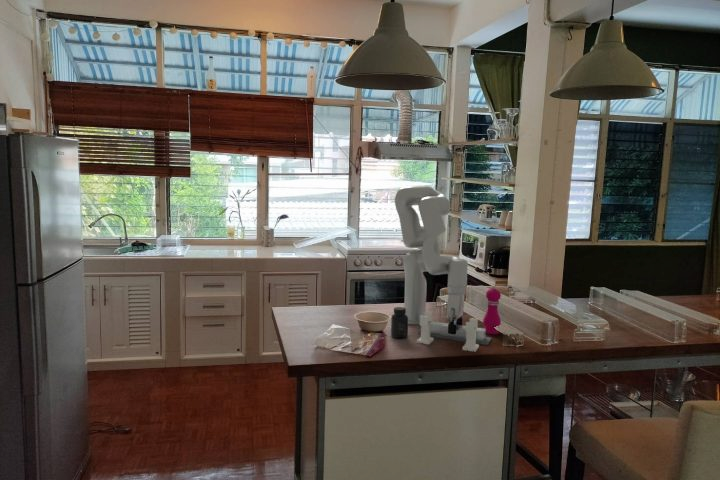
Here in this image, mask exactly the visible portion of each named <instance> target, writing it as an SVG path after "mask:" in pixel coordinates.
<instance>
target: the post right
mask: <svg viewBox="0 0 720 480" xmlns="http://www.w3.org/2000/svg"><path fill="white" fill-rule="evenodd" d="M478 320H479V319H478V318H475V317H474V318H473V317H470V318H469V321H465V326H466V332H467V334H466V342H464V345H463V346H461V347H462V349H461V350H462V351H467V350H468V352H473V351H474V352H475V353H476V352H477V351H478V349H479V348H480V344H477V343H476V330H477V328H479V327H478V325H479V324H478V323H479V321H478Z"/></svg>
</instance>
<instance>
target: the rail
mask: <svg viewBox="0 0 720 480" xmlns="http://www.w3.org/2000/svg"><path fill="white" fill-rule="evenodd" d="M430 333H431V334H438V335H444V336H451V337H458V338H464V339H466V334H467V332H466V325H463V324H462V325H457V326H456V334H449V333H448V322H447V323H446V322H440V321H434V320H432V323H431V332H430ZM486 335H487V333H486V329H484V327H477V330H476V340H478V341H484V340H485V338H486V337H487V336H486Z"/></svg>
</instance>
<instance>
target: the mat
mask: <svg viewBox="0 0 720 480" xmlns="http://www.w3.org/2000/svg"><path fill="white" fill-rule="evenodd" d="M418 336H421V331H420V332H419V333H418ZM430 337H432V338H437V339H439V338H440V339H445V340H452V341H457V342H464V343H466V339H464V338H458V337H451V336H444V335H438V334H431V333H430ZM492 339H493V338H492V337H489V336H486V338H485V340H484V341H478V340H476V344H478V345H485V346H488V345H489V344H490V342H491V340H492Z"/></svg>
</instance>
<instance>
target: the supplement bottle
mask: <svg viewBox="0 0 720 480" xmlns="http://www.w3.org/2000/svg"><path fill="white" fill-rule="evenodd" d="M405 313H406V308H404V306H397V307H394V308H393V314H392V315H391V318H390V319H391V320H390V323H391V324H390V337H391V339H394V340H399V341H401V340H402V341H403V340H406V339H408V338H409V324H408V316H407V315H406V314H405Z"/></svg>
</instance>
